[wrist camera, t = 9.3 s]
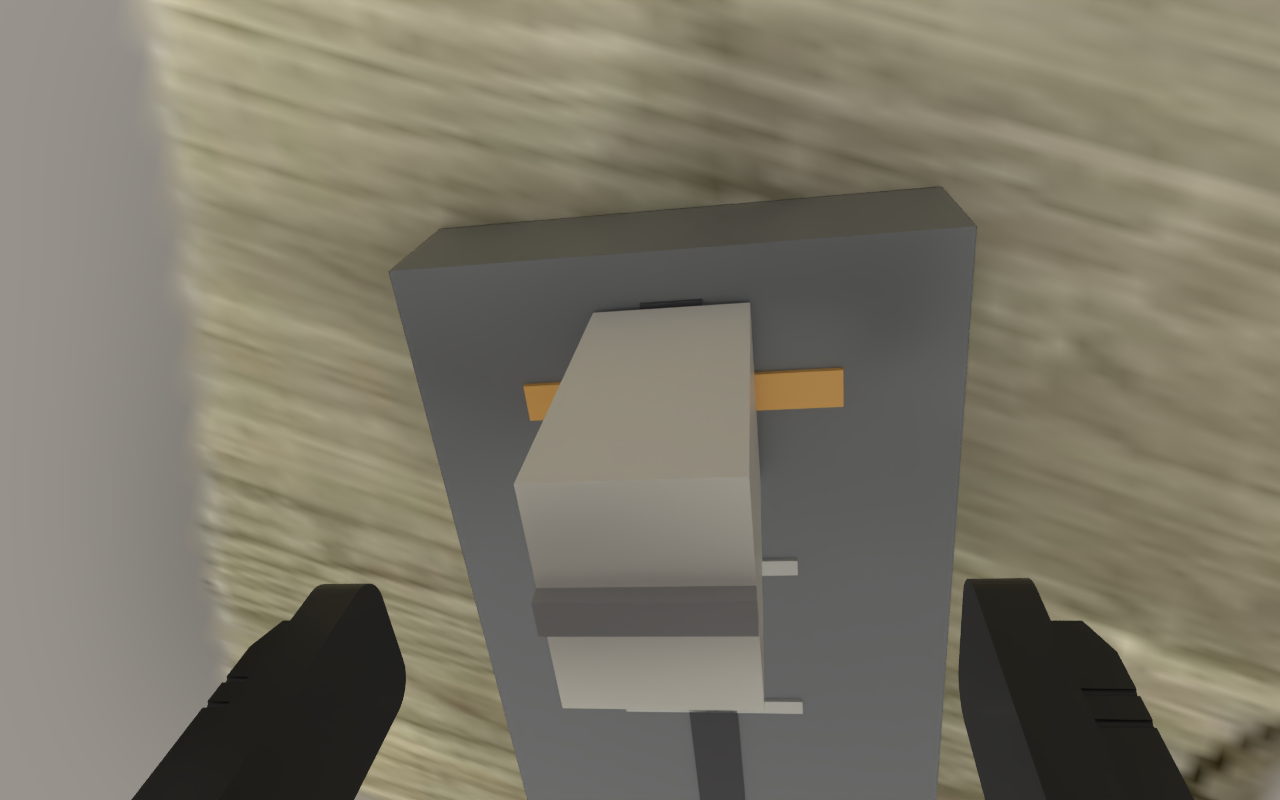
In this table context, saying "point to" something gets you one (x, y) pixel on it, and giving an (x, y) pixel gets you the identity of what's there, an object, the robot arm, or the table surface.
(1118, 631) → the table surface
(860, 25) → the table surface
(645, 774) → the console
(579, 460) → the fader
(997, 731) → the robot arm
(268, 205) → the table surface
